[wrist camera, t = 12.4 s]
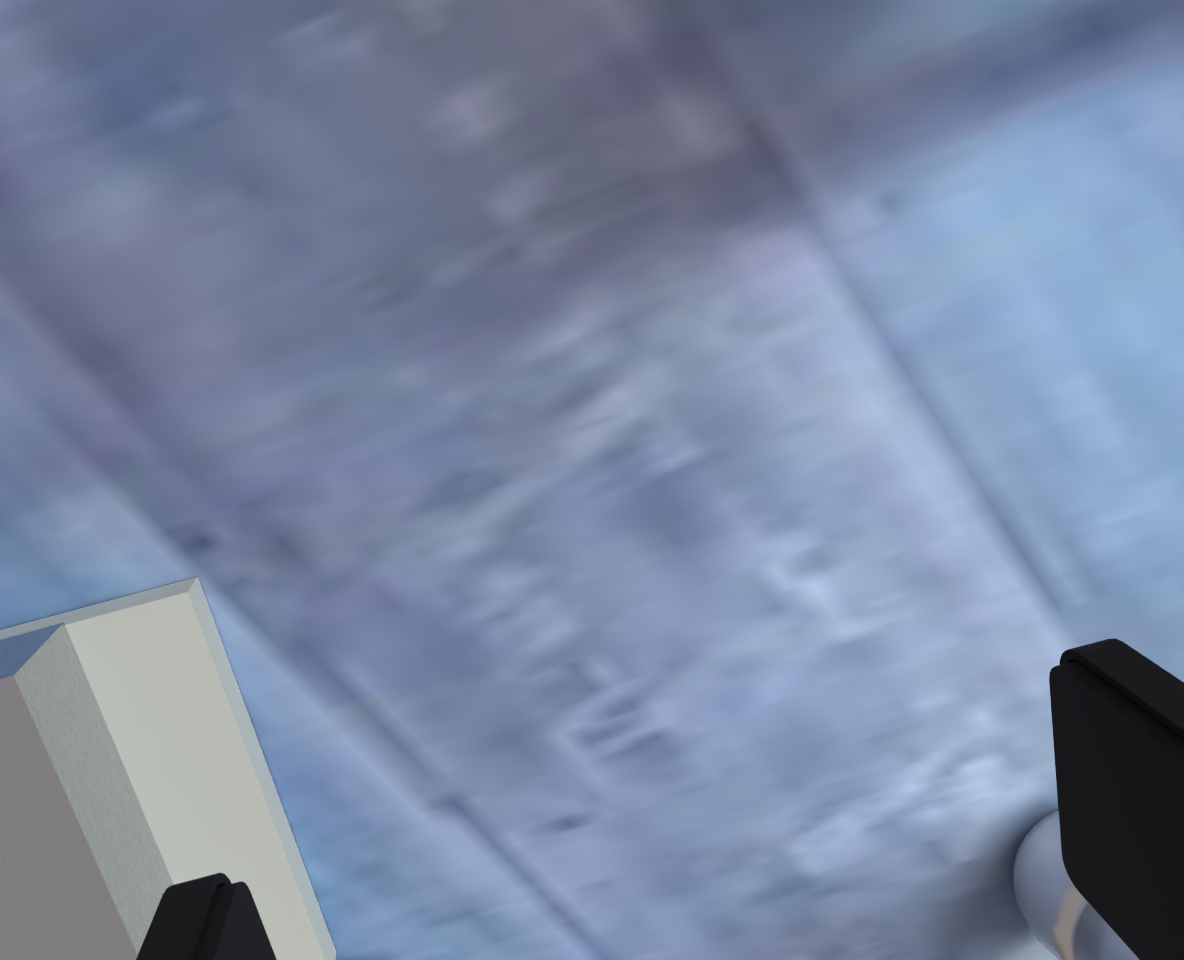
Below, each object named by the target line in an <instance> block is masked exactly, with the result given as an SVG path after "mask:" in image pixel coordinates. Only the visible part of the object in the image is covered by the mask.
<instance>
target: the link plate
mask: <svg viewBox="0 0 1184 960" xmlns="http://www.w3.org/2000/svg"><path fill="white" fill-rule="evenodd" d="M171 885H174V884H173V881H172V879H171V877H170V874H169V872H168V869H167V867H166V865H165V862H164V860H163V857H162V855H161V853H160V850H159V848H158V846H157V843H156V841H155V838H154V836H153V834H152V831H151V829H150V827H149V824H148V822H147V819H146V817H145V815H144V812H143V810H142V807H141V805H140V803H139V800H138V798H137V796H136V793H135V791H134V788H133V786H132V784H131V781H130V779H129V776H128V774H127V772H126V769H125V767H124V765H123V762H122V760H121V757H120V755H119V753H118V750H117V748H116V745H115V743H114V741H113V738H112V736H111V734H110V731H109V729H108V726H107V724H106V722H105V719H104V717H103V715H102V712H101V710H100V707H99V705H98V703H97V700H96V698H95V695H94V693H93V691H92V688H91V686H90V684H89V681H88V679H87V676H86V674H85V672H84V669H83V667H82V664H81V662H80V660H79V657H78V655H77V653H76V650H75V648H74V645H73V643H72V641H71V638H70V636H69V633H68V631H67V629H66V626H65V624H64V622H63V623H59V624H56V625H52V626H48V627H45V628H41V629H37V630H34V631H30V632H27V633H23V634H19V635H16V636H12V637H8V638H5V639H1V640H0V960H136V958H137V956H138V953H139V951H140V949H141V946H142V944H143V941H144V939H145V936H146V934H147V932H148V929H149V927H150V924H151V922H152V919H153V917H154V915H155V912H156V910H157V907H158V905H159V902H160V900H161V898H162V895H163V894H164V892H165V890H166V889H167V888H168V887H170V886H171Z"/></svg>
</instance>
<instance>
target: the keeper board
mask: <svg viewBox="0 0 1184 960" xmlns="http://www.w3.org/2000/svg"><path fill="white" fill-rule="evenodd" d="M63 622H64V624H65V626H66V629H67V631H68V633H69V636H70V638H71V641H72V643H73V645H74V648H75V650H76V653H77V655H78V657H79V660H80V662H81V664H82V667H83V669H84V672H85V674H86V676H87V679H88V681H89V684H90V686H91V688H92V691H93V693H94V695H95V698H96V700H97V703H98V705H99V707H100V710H101V712H102V715H103V717H104V719H105V722H106V724H107V726H108V729H109V731H110V734H111V736H112V738H113V741H114V743H115V745H116V748H117V750H118V753H119V755H120V757H121V760H122V762H123V765H124V767H125V769H126V772H127V774H128V776H129V779H130V781H131V784H132V786H133V788H134V791H135V793H136V796H137V798H138V800H139V803H140V805H141V807H142V810H143V812H144V815H145V817H146V819H147V822H148V824H149V827H150V829H151V831H152V834H153V836H154V838H155V841H156V843H157V846H158V848H159V850H160V853H161V855H162V857H163V860H164V862H165V865H166V867H167V869H168V872H169V874H170V877H171V879H172V881H173V884H174V885H175V884H179V883H182V882H186V881H190V880H194V879H198V878H201V877H205V876H209V875H213V874H217V873H223V874H225V875H226V876H227V877H228V878H229V879H230V881H231V883H232V884H233V883H236V882H240V881H242V882H245V883H246V885H247V886H248V887H249V890H250V892H251V894H252V897H253V899H254V902H255V905H256V907H257V910H258V912H259V915H260V918H261V920H262V923H263V925H264V928H265V931H266V933H267V936H268V938H269V941H270V944H271V946H272V949H273V951H274V954H275V957H276V959H277V960H336V950H335V947H334V945H333V942H332V939H331V937H330V934H329V931H328V929H327V926H326V923H325V920H324V918H323V915H322V912H321V910H320V907H319V904H318V901H317V899H316V896H315V893H314V891H313V888H312V885H311V882H310V880H309V877H308V874H307V872H306V869H305V866H304V863H303V861H302V858H301V855H300V853H299V850H298V847H297V844H296V842H295V839H294V836H293V834H292V831H291V828H290V825H289V823H288V820H287V817H286V815H285V812H284V809H283V807H282V804H281V801H280V798H279V796H278V793H277V790H276V788H275V785H274V782H273V779H272V777H271V774H270V771H269V769H268V766H267V763H266V760H265V758H264V755H263V752H262V750H261V747H260V744H259V741H258V739H257V736H256V733H255V731H254V728H253V725H252V722H251V720H250V717H249V714H248V712H247V709H246V706H245V703H244V701H243V698H242V695H241V693H240V690H239V687H238V684H237V682H236V679H235V676H234V674H233V671H232V668H231V666H230V663H229V660H228V657H227V655H226V652H225V649H224V647H223V644H222V641H221V638H220V636H219V633H218V630H217V628H216V625H215V622H214V619H213V617H212V614H211V611H210V609H209V606H208V603H207V600H206V598H205V595H204V592H203V590H202V587H201V584H200V581H199V579H198V577H195V578H191V579H187V580H184V581H180V582H176V583H172V584H169V585H165V586H161V587H158V588H154V589H150V590H146V591H143V592H139V593H135V594H132V595H128V596H124V597H120V598H117V599H113V600H109V601H106V602H102V603H98V604H94V605H91V606H87V607H83V608H80V609H76V610H72V611H68V612H65V613H61V614H57V615H54V616H50V617H46V618H42V619H39V620H35V621H31V622H28V623H24V624H20V625H16V626H13V627H9V628H5V629H2V630H0V640H1V639H5V638H8V637H12V636H16V635H19V634H23V633H27V632H30V631H34V630H37V629H41V628H45V627H48V626H52V625H56V624H59V623H63Z"/></svg>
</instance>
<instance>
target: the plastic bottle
mask: <svg viewBox="0 0 1184 960" xmlns="http://www.w3.org/2000/svg"><path fill="white" fill-rule="evenodd" d="M1014 894H1015V897H1016V901H1017V905H1018V906H1019V908H1020V910H1021V912H1022V914H1023V915H1024V917H1025V919H1026V920H1027V922H1028V924H1029V925H1030V927H1031V929H1032V930H1033V932H1034V934H1035V936H1036V937H1037V939H1038V940H1039V941H1040V942H1041V943H1042V944H1043V945H1044V947H1045V948H1046V949H1048V950H1049V951H1050V952H1051V953H1052V954H1053V955H1054V956H1055V957H1057V958H1058V959H1059V960H1139V959H1138V957H1137V956H1136V955H1135V954H1134V953H1133V952H1132V951H1131V950H1130V948H1129V947H1128V946H1127V945H1126V944H1125V943H1124V942H1123V941H1122V940H1121V938H1120V937H1119V936H1118V935H1117V934H1116V933H1115V932H1114V931H1113V929H1112V928H1111V927H1110V926H1109V925H1108V924H1107V923H1106V922H1105V921H1104V919H1103V918H1102V917H1101V916H1100V915H1099V914H1098V913H1097V912H1096V911H1095V909H1094V908H1093V907H1092V906H1091V905H1090V904H1089V903H1088V902H1087V900H1086V899H1085V898H1084V897H1083V896H1082V895H1081V894H1080V893H1079V892H1078V890H1077V889H1076V888H1075V886H1074V885H1073V883H1072V881H1071V880H1070V878H1069V876H1068V874H1067V872H1066V869H1065V866H1064V863H1063V859H1062V851H1061V837H1060V823H1059V810H1057V811H1055V812H1053V813H1051V814H1049V815H1048V816H1046V817H1045V818H1043V819H1041V820H1040V821H1039V822H1038V823H1037V824H1036V825H1035V826H1034V827H1033V828H1032V829H1031V830H1030V831H1029V833H1028V834H1027V835H1026V836H1025V838H1024V840H1023V841H1022V843H1021V845H1020V847H1019V849H1018V852H1017V855H1016V858H1015V863H1014Z"/></svg>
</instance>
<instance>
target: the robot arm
mask: <svg viewBox="0 0 1184 960" xmlns="http://www.w3.org/2000/svg"><path fill="white" fill-rule="evenodd" d="M1049 681H1050V696H1051V710H1052V724H1053V738H1054V752H1055V766H1056V780H1057V794H1058V808H1059V823H1060V837H1061V851H1062V859H1063V863H1064V866H1065V869H1066V872H1067V874H1068V876H1069V878H1070V880H1071V881H1072V883H1073V885H1074V886H1075V888H1076V889H1077V890H1078V892H1079V893H1080V894H1081V895H1082V896H1083V897H1084V898H1085V899H1086V900H1087V902H1088V903H1089V904H1090V905H1091V906H1092V907H1093V908H1094V909H1095V911H1096V912H1097V913H1098V914H1099V915H1100V916H1101V917H1102V918H1103V919H1104V921H1105V922H1106V923H1107V924H1108V925H1109V926H1110V927H1111V928H1112V929H1113V931H1114V932H1115V933H1116V934H1117V935H1118V936H1119V937H1120V938H1121V940H1122V941H1123V942H1124V943H1125V944H1126V945H1127V946H1128V947H1129V948H1130V950H1131V951H1132V952H1133V953H1134V954H1135V955H1136V956H1137V957H1138V959H1139V960H1184V683H1183V682H1182V681H1180V680H1179V679H1177V678H1176V677H1174V676H1173V675H1171V674H1170V673H1168V672H1167V671H1165V670H1164V669H1162V668H1161V667H1159V666H1158V665H1157V664H1155V663H1154V662H1152V661H1151V660H1149V659H1148V658H1146V657H1145V656H1143V655H1142V654H1140V653H1139V652H1137V651H1136V650H1134V649H1133V648H1131V647H1130V646H1128V645H1127V644H1125V643H1124V642H1122V641H1120V640H1117V639H1107V640H1103V641H1099V642H1096V643H1092V644H1088V645H1084V646H1080V647H1076V648H1073V649H1069V650H1066V651H1065V652H1064V653H1062V656H1061V659H1060V665H1059V666H1055V667H1053V668H1052V669H1051V672H1050V679H1049ZM136 960H277V959H276V957H275V954H274V951H273V949H272V946H271V944H270V941H269V938H268V936H267V933H266V931H265V928H264V925H263V923H262V920H261V918H260V915H259V912H258V910H257V907H256V905H255V902H254V899H253V897H252V894H251V892H250V890H249V887H248V886H247V885H246V883H245V882H242V881H240V882H236V883H233V884H232V883H231V881H230V879H229V878H228V877H227V876H226V875H225V874H223V873H217V874H213V875H209V876H205V877H201V878H198V879H194V880H190V881H186V882H182V883H179V884H175V885H171V886H170V887H168V888H167V889H166V890H165V892H164V894H163V895H162V898H161V900H160V902H159V905H158V907H157V910H156V912H155V915H154V917H153V919H152V922H151V924H150V927H149V929H148V932H147V934H146V936H145V939H144V941H143V944H142V946H141V949H140V951H139V953H138V956H137V958H136Z"/></svg>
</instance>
